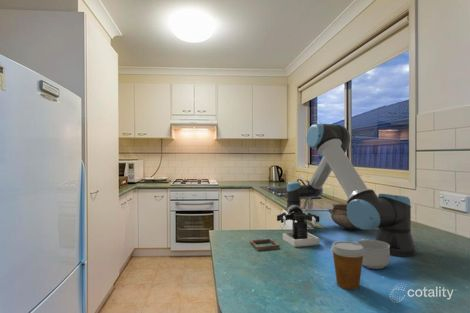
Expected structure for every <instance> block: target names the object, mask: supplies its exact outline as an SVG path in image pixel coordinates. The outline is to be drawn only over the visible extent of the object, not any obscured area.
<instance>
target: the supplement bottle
mask: <svg viewBox="0 0 470 313" xmlns="http://www.w3.org/2000/svg"><path fill="white" fill-rule="evenodd" d="M294 216H295V217H294V219H295V220H294V221H292V222H291V224H292V231H291V232H292V234H293V239H295V240H297V239H308V233H309V231H308V228H309V227H308V225H309V224H308V222H307V221H308V220H305V215H304V214H295V215H294Z"/></svg>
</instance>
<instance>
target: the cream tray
mask: <svg viewBox="0 0 470 313" xmlns="http://www.w3.org/2000/svg"><path fill="white" fill-rule="evenodd" d="M282 240H283V241H284V242H286V243H287V244H289V245H290V246H292V247H294V248H299V247H309V246H312V247H313V246H319V245H320V238H319V237H318V236H316V235H314V234H311V233H310V232H308V239H297V240H295V239H293V234H292V231H291V232H283V233H282Z"/></svg>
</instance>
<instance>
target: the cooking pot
mask: <svg viewBox="0 0 470 313" xmlns="http://www.w3.org/2000/svg"><path fill="white" fill-rule="evenodd" d="M347 205H348V204H347V202H346V203H345V202H343V203H333V204H332V208H329V209H328V210H327V211H328V213H330V217H331V219H332V221H333V222H334V224H336V225H338V226H339V227H340V228H342V229H344V230H347V229H350V230H349V231H354V230H355V229H356V230H358V228H357V227H356V226H354V225H353V224H352V223H351V222H350V220H349V218H348V216H347V212H348V211H347Z"/></svg>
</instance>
